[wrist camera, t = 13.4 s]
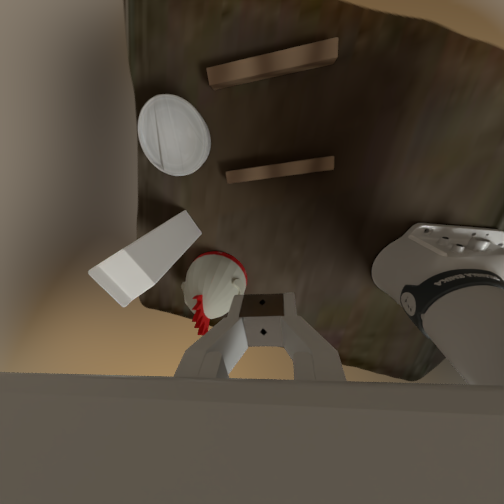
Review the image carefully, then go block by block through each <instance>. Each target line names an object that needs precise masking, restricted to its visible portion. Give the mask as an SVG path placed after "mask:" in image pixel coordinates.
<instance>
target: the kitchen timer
mask: <svg viewBox="0 0 504 504" xmlns="http://www.w3.org/2000/svg"><path fill="white" fill-rule="evenodd" d="M246 285H247V274H246V271H245V268H244V267H243V266H242V264H241V263H240V262H239V261H238V260H237V259H236V258H234V257H233V256H231V255H229V254H227V253H224V252H218V251H211V252H206V253H203V254H201V255H199V256H198V257H197V258H196V259H195V260H194V261H193V262H192V264H191V266H190V268H189V269H188V271H187V275H186V280H185V282H183V283H182V285H181V288H182V290H183V292H184V300H185V303H186V305H188V307H189V308H190V310H191V311H192V312H193V313H194V314H195V315H194V317H193V320H192V322H196V324H195V328H199V330H198V335H205V334H206V333H207V332H208V327H209V321H210V319H214V318H218V317H220V316H222V315H224V314H226V313H227V312H229V310H230V306H231V303H232V300H233V297H234V296H235V295H243V294H244V291H245V288H246Z"/></svg>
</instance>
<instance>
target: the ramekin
mask: <svg viewBox="0 0 504 504" xmlns="http://www.w3.org/2000/svg"><path fill="white" fill-rule="evenodd" d="M138 137H139V141H140V145H141V147H142V149H143V151H144V153H145V155H146V156H147V158H148V159H149V161H150V162H151V163H152V164H153V165H154V166H155V167H156V168H158V169H159V170H161V171H162V172H164V173H167V174H169V175H174V176H184V175H188V174H191V173H193V172H195V171H196V170H198V169H199V168H200V167H201V166H202V164H203V163H204V162H205V161H206V159H207V157H208V155H209V152H210V148H211V138H210V133H209V130H208V127H207V125H206V123H205V121H204V119H203V118H202V117H201V115H200V114H199V112H198V111H197V110H196V108H195V107H194V106H193V105H192V104H190V103H189V102H188V101H186V100H185V99H183V98H181V97H179V96H176V95H172V94H160V95H156V96H154V97H152V98H151V99H149V100H148V101H147V102H146V103H145V105H144V106H143V107H142V109H141V112H140V114H139V118H138Z"/></svg>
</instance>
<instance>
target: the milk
mask: <svg viewBox="0 0 504 504" xmlns="http://www.w3.org/2000/svg"><path fill="white" fill-rule="evenodd" d="M201 234H202V232H201V231H200V230H199V228H198V227H197V225H196V224H195V223H194V221H193V220H192V218H191V217H190V216H189V214H188V213H187V211H186V210H184V211H182V212H181V213H179V214H177V215H176V216H174V217H173V218H171V219H169V220H168V221H166V222H165V223H163V224H161V225H160V226H158V227H157V228H155V229H153V230H152V231H150V232H149V233H147V234H145V235H144V236H142V237H141V238H139V239H137V240H136V241H134V242H133V243H131V244H130V245H128V246H127V247H125V248H123V249H121V250H120V251H118V252H117V253H115V254H114V255H112V256H110V257H109V258H107V259H106V260H104V261H103V262H101V263H99V264H98V265H96V266H95V267H93V268H92V269H90V270H89V271H88V274H89V275H90V276H91V277H92V278H93V279H94V280H95V281H96V282H97V283H98V284H99V285H100V286H101V287H102V288H103V289H104V290H106V292H108V293H109V294H110V295H111V296H112V297H113V298H114V299H115V300H116V301H117V302H118V303H119V304H120V305H121V306H122V307H126V306H127V305H128V304H129V303H130V302H131V301H132V300H133V299H135V298H136V297H138V296H139V295H141V294H142V293H143V292H145V291H146V290H148V289H149V288H151V287H152V286H154V285H155V284H156V283H157V282H158V281H159V279H160V278H161V277H162V276H163V275H164V274H165V273H166V272H167V271H168V270H169V269H170V268H171V266H172V265H173V264H174V263H175V262H176V261H177V260H178V259H179V258H180V257H181V256H182V255H183V254H184V252H185V251H186V250H187V249H188V248H189V247H190V246H191V245H192V244H193V243H194V242H195V241H196V239H197V238H198V237H199V236H200V235H201Z"/></svg>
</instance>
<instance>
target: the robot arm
mask: <svg viewBox="0 0 504 504" xmlns="http://www.w3.org/2000/svg"><path fill="white" fill-rule="evenodd" d="M426 229H427V230H426ZM425 230H426V231H425ZM424 231H425V232H424ZM372 279H373V281H374V283H375V284H376V286H377V287H378V288H379V289H381V290H382V291H384V292H385V293H387V294H388V295H389V296H391V297H392V298H393V299H394V300H395V301H396V302H397V303H398V304H400V305H401V306H402V307H403V309H404V310H405V312H406V313H407V315H408V316H409V318H410V319H411V320H412V321H413V323H414V324H415V325H416V326H417V327H418V329H419V330H420V331H421V332H422V333H423V334H424V335H425V336H426V337H427V338H429V339H431V340H432V341H433V342H434V343H435V345H436V346H437V347H438V348H439V350H440V351H441V352H442V353H443V354H444V356H445V357H446V358H447V359H448V360H449V362H450V363H451V364H452V365H453V366H454V368H455V369H456V370H457V371H458V373H459V374H460V375H461V376H462V377H463V379H464V380H465V381H466V382H467V384H468V385H463V384H462V385H461V384H425V383H387V382H351V381H346V378H345V375H344V371H343V368H342V364H341V361H340V358H339V355H338V351H337V350H336V349H335V348H333V347H332V346H331V345H330V344H329V343H328V342H327V341H326V340H325V339H324V338H323V337H322V336H321V335H320V334H319V333H318V332H317V331H316V330H314V329H313V328H312V327H311V326H310V325H309V324H308V323H307V322H306V321H305V320H304V319H303V318H302V317H301V316H297V312H296V303H295V295H294V292H291V293H284V295H283V293H281V294H248V295H235V296H234V297H233V300H232V303H231V306H230V310H229V313H228V316H227V318H223V319H222V320H221V321H220V322H219V323H218V324H216V325H215V326H214V327H213V328H212V329H210V330H209V331H208V332H207V333H206V334H205V335H203V336H202V337H201V338H200V339H199V340H197V341H196V342H195V343H194V344H193V345H192V346H190V347H189V348H188V349H187V350H186V351H185V353H184V355H183V357H182V359H181V362H180V364H179V366H178V368H177V370H176V372H175V375H174V377H162V376H125V375H124V376H123V375H87V374H86V375H84V374H47V373H10V372H0V504H504V232H503V231H501V230H498V229H490V228H478V227H466V226H453V225H441V224H429V223H417V224H415V225H413V226H412V227H411V228H410V229H409V230H408V231H407V232H406V233H405V234H404V235H403V236H402V237H400V238H399V239H397V240H395V241H394V242H392V243H390V244H389V245H388V246H386V247H385V248H384V249H383V250H382V251H381V252H380V253H379V254H378V256H377V257H376V259H375V261H374V263H373V266H372ZM249 346H251V347H252V346H280V347H284V348H285V350H286V351H287V353H288V354H289V356H290V357H291V359H292V360H293V365H294V380H276V379H274V380H273V379H237V378H229V376H228V374H229V373H230V371H231V370H232V369H233V367H234V366H235V365H236V363H237V362H238V360H239V359H240V358H241V356H242V355H243V354H244V352H245V351H246V350H247V348H248V347H249Z"/></svg>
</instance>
